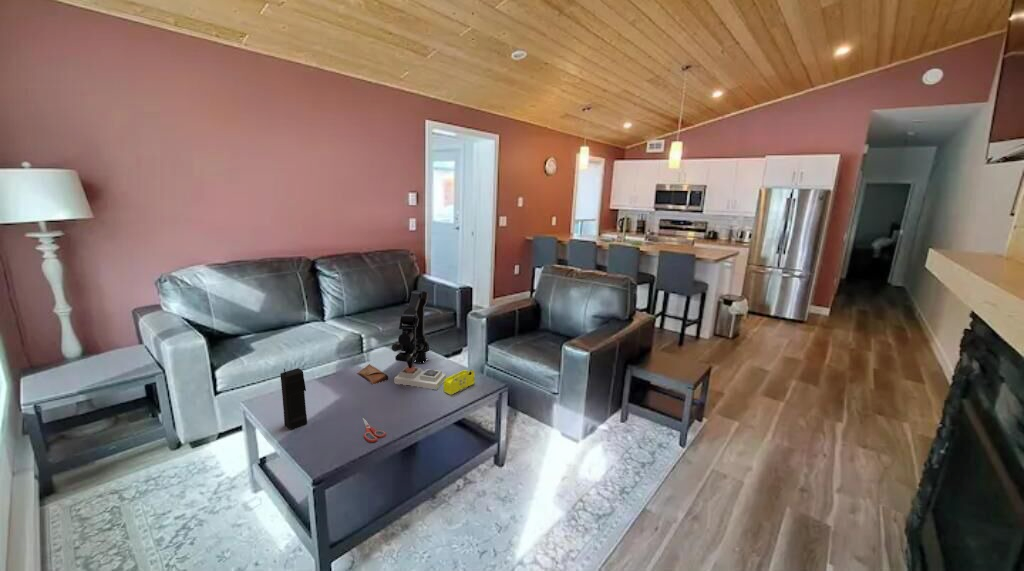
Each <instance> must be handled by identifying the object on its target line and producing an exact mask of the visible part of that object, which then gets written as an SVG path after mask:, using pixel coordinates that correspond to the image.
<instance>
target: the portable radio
mask: <svg viewBox="0 0 1024 571" xmlns="http://www.w3.org/2000/svg"><path fill="white" fill-rule="evenodd" d="M304 376H305V375H304V371H303V370H302V369H300V367H299V368H294V369H290V370H287V371H286V368H283V372H281V373H280V384H281V393H282V394H281V395H282V396H281V397H282V407H283V419H284V422H283V423H284V426H285V427H286V428H288V429H289V430H295V428H296V429H298V428H301V427H303V426H305V425H307V424H308V417H307V410H306V409H307V408H306V407H307V406H306V397H305V396H306V395H305V392H306V391H307V390H306V382H305V377H304Z"/></svg>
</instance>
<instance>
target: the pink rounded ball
mask: <svg viewBox="0 0 1024 571" xmlns="http://www.w3.org/2000/svg"><path fill="white" fill-rule="evenodd" d="M406 366H407V367H406ZM406 366H405V367H406V373H412V374H413V373H414V372H415V367H416V366H414V365H413V366H412V368H409V366H408V365H406Z"/></svg>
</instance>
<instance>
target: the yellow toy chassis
mask: <svg viewBox="0 0 1024 571" xmlns="http://www.w3.org/2000/svg"><path fill="white" fill-rule="evenodd" d="M475 376H476V373H475V371H474V370H473V369H472V370H466V369H464V370H461V371H459V372H457V373H454V374H453V375H450V376H448V377H446V379H445V381H444V382H443V392H445V393H447V394H448V395H450V396H451V395H454V393H455V394H456V393H457V392H462V391H463V390H466V389H467V388H468V386H469V387H470V386H472V385H474V384H475V382H476V381H475V379H476V378H475Z"/></svg>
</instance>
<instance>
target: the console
mask: <svg viewBox="0 0 1024 571" xmlns="http://www.w3.org/2000/svg"><path fill="white" fill-rule="evenodd" d="M407 366H408V365H406V366H405V367H404V368H403V369H401V370H400V371H399V373H398V374H397V375H396V376H395V377H394V378H393V379H394V381H393V382H394V383H395V385H400V384H403V385H402V386H406V385H411V386H410V387H413V386H417V387H416V388H419V387H423V388H422V389H426V388H430V389H429V390H432V389H436V390H435V391H437V390H438V389H439V388H440V387H441V386H440V385H441V384H442V382H443V381H444V380H445V379H446V378H447V373H443V370H436V369H433V370H434V371H436V375H435V376H434V377H433V376H426V372H427V371H428V370H432V369H430V368H426V369H425V370H423V369H422V368H421V367H416V366H414V367H415V372H414V373H413V374H412V373H406V367H407ZM443 383H444V382H443ZM442 385H443V384H442ZM439 386H440V387H439ZM438 387H439V388H438ZM437 388H438V389H437Z"/></svg>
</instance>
